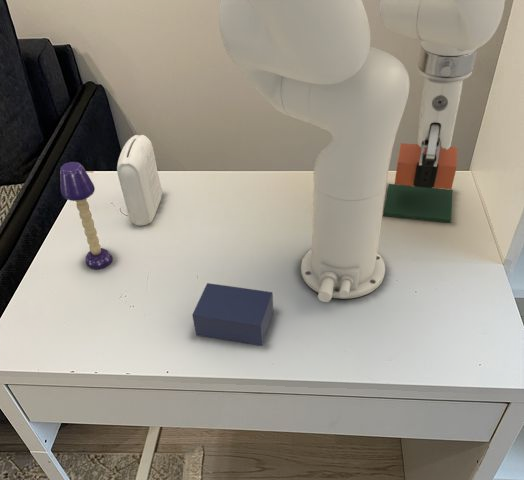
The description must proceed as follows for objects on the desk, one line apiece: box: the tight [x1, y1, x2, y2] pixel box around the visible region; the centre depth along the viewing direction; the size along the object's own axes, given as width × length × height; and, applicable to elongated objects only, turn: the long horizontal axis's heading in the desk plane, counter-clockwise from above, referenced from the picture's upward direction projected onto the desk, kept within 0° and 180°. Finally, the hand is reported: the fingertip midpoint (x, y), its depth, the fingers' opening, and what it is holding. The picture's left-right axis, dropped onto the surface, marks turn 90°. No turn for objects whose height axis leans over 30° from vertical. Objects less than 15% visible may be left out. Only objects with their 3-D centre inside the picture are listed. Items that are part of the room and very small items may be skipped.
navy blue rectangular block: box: [191, 282, 274, 346], centre depth 75 cm, size 6×10×4 cm
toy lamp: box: [59, 161, 114, 270], centre depth 81 cm, size 5×5×17 cm
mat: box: [382, 183, 454, 224], centre depth 94 cm, size 9×11×1 cm
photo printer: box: [116, 134, 163, 226], centre depth 92 cm, size 10×4×12 cm, turn 175°
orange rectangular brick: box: [394, 143, 458, 190], centre depth 89 cm, size 6×9×4 cm, turn 76°
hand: (424, 173), depth 90 cm, fingers closed on orange rectangular brick, 6 cm apart
